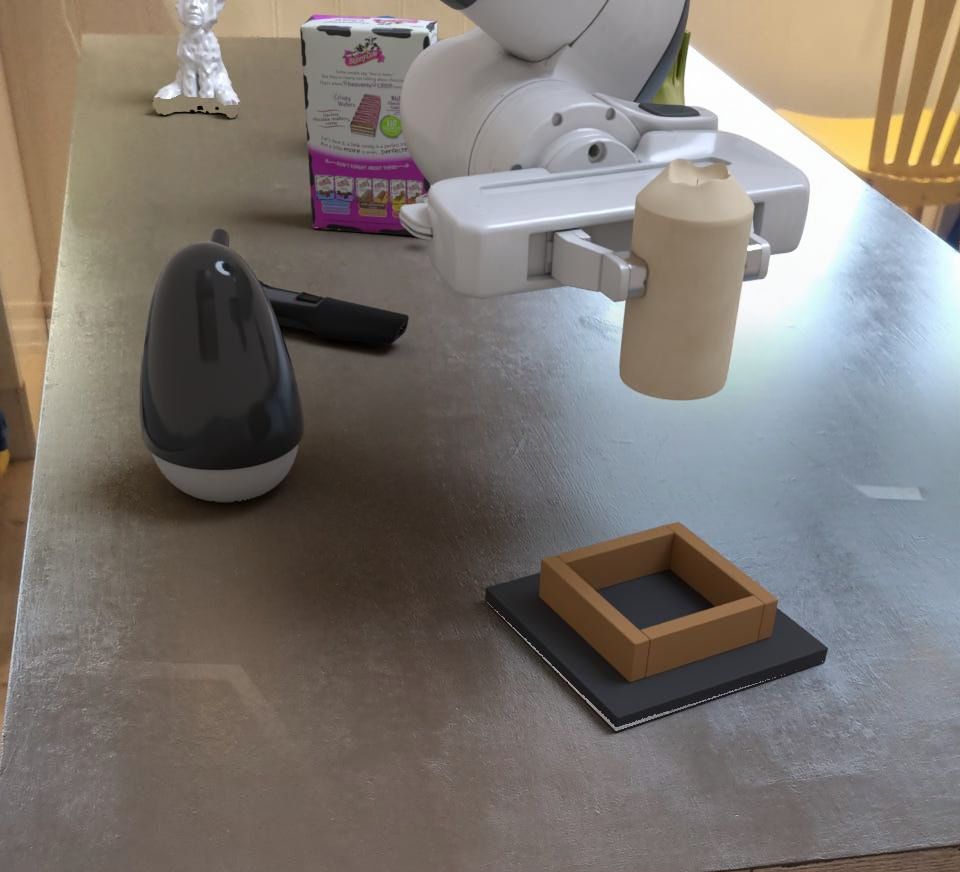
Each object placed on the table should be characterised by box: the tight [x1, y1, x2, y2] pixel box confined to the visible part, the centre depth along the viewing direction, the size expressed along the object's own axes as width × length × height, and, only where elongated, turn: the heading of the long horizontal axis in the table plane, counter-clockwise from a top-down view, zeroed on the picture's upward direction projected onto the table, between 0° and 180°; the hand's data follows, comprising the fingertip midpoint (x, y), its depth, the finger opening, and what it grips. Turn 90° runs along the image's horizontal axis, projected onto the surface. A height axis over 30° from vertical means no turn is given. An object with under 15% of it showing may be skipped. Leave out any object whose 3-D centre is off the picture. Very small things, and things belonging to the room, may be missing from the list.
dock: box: [484, 521, 829, 733], centre depth 77 cm, size 14×14×4 cm
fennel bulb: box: [650, 29, 691, 106], centre depth 138 cm, size 6×5×12 cm
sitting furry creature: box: [153, 0, 241, 106], centre depth 148 cm, size 10×9×12 cm
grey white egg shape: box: [139, 227, 305, 503], centre depth 85 cm, size 10×10×15 cm
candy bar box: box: [299, 14, 439, 236], centre depth 120 cm, size 11×5×16 cm, turn 82°
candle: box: [618, 159, 754, 402], centre depth 66 cm, size 6×6×10 cm
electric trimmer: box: [258, 279, 410, 345], centre depth 107 cm, size 4×16×3 cm, turn 66°
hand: (696, 274), depth 65 cm, fingers closed on candle, 5 cm apart
